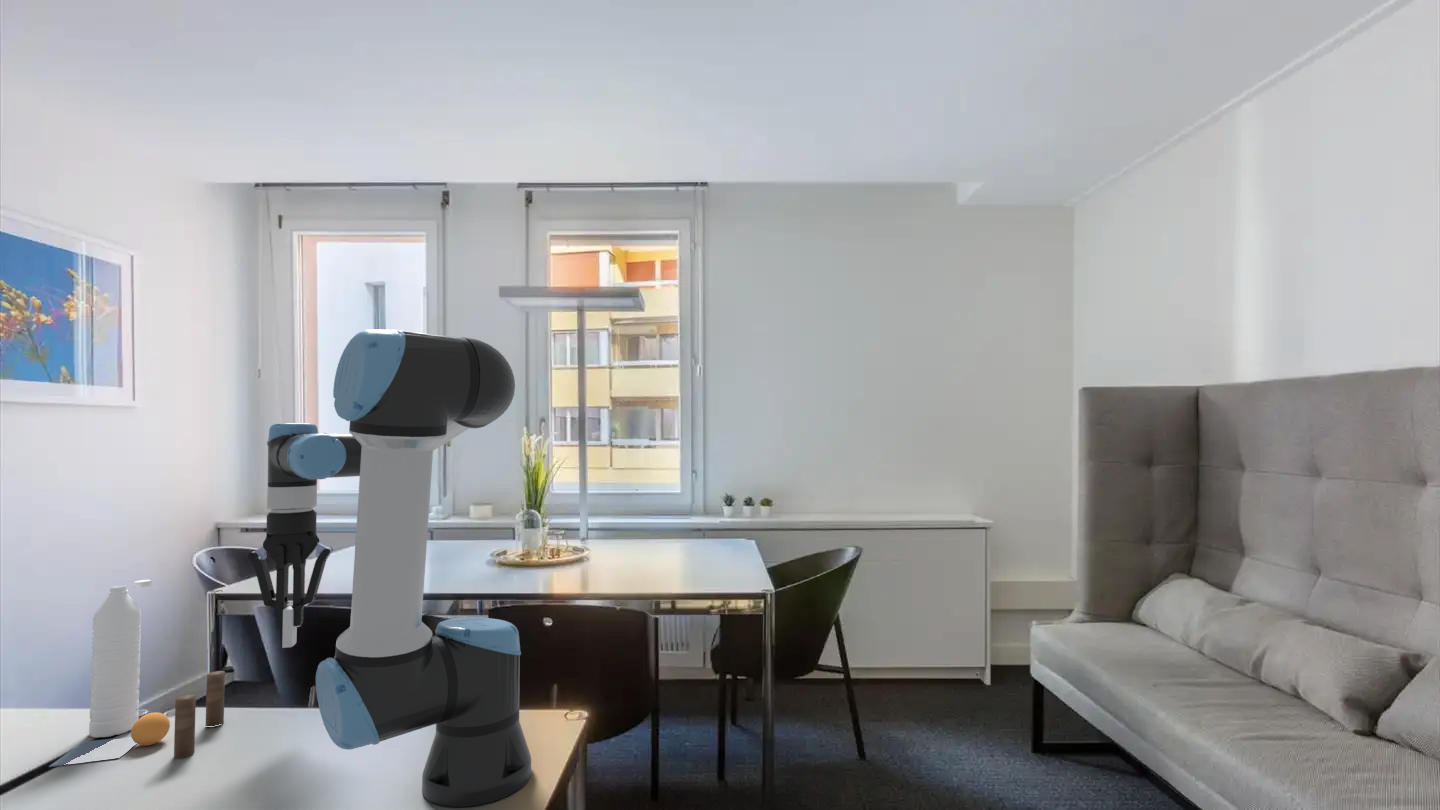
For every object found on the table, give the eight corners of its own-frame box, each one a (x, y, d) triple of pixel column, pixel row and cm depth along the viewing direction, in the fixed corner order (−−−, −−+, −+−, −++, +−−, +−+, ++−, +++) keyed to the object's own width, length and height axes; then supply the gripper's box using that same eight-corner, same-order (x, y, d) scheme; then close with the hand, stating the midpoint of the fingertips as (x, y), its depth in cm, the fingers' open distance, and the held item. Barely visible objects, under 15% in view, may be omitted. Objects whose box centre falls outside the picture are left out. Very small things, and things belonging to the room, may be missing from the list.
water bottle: (109, 739, 117) (114, 590, 118) (78, 737, 118) (83, 589, 119) (160, 719, 125) (164, 580, 126) (130, 716, 126) (134, 579, 128)
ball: (133, 715, 112) (118, 745, 112) (165, 724, 113) (151, 754, 113) (150, 703, 117) (136, 732, 116) (181, 712, 118) (167, 741, 118)
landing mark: (119, 758, 109) (119, 757, 109) (48, 767, 107) (48, 766, 107) (147, 735, 118) (147, 734, 118) (82, 743, 115) (82, 741, 115)
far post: (220, 726, 121) (221, 674, 122) (203, 728, 121) (204, 676, 121) (226, 721, 124) (227, 670, 124) (209, 723, 123) (210, 671, 124)
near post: (190, 757, 110) (191, 699, 110) (170, 759, 109) (172, 701, 110) (197, 750, 112) (198, 693, 113) (178, 752, 112) (179, 695, 112)
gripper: (338, 506, 128) (336, 635, 127) (257, 509, 124) (254, 642, 123) (328, 510, 121) (325, 647, 119) (241, 513, 117) (238, 655, 116)
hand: (289, 645), depth 121 cm, fingers closed
